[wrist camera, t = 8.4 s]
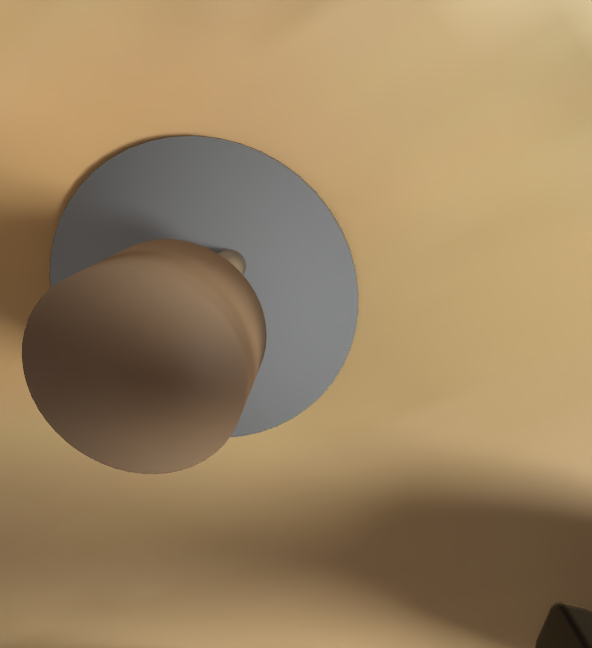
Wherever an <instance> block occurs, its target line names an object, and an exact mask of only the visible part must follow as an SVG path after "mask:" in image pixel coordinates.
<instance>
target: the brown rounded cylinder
mask: <svg viewBox="0 0 592 648" xmlns="http://www.w3.org/2000/svg"><path fill="white" fill-rule="evenodd" d="M245 270H246V262H245V259H244V257H243V256H242V255H241V254H240V253H239V252H237V251H235V250H232V249H226V250H223V251H221V252H220V253H218V254H217V253H215V252H214V251H212V250H210V249H208V248H206V247H203V246H200V245H198V244H195V243H191V242H187V241H183V240H175V239H156V240H150V241H145V242H141V243H138V244H135V245H133V246H131V247H129V248H126V249H124V250H122V251H120V252H118V253H116V254H114V255H112V256H110V257H108V258H106V259H104V260H102V261H100V262H98V263H96V264H94V265H92V266H90V267H88V268H86V269H84V270H82V271H80V272H77V273H75V274H73V275H71V276H69V277H67V278H65V279H63V280H62V281H61V282H59V283H58V284H56V285H55V286H53V287H52V288H51V289H50V290H49V291H48V292H47V293H46V294H45V295H44V296H43V297H42V298H41V299H40V301H39V302H38V303H37V305H36V306H35V308H34V310H33V311H32V313H31V315H30V317H29V319H28V322H27V325H26V328H25V331H24V337H23V343H22V361H23V370H24V374H25V378H26V382H27V385H28V388H29V391H30V393H31V396H32V398H33V400H34V402H35V404H36V405H37V407H38V409H39V411H40V412H41V414H42V415H43V416H44V418H45V419H46V421H47V422H48V423H49V424H50V425H51V427H52V428H53V429H54V430H55V431H56V432H57V433H58V434H59V435H60V436H61V437H62V438H63V439H64V440H65V441H66V442H68V443H69V444H70V445H71V446H73V447H74V448H75V449H77V450H78V451H80V452H81V453H83V454H85V455H86V456H88V457H90V458H92V459H94V460H96V461H98V462H100V463H102V464H104V465H107V466H110V467H113V468H116V469H120V470H123V471H127V472H134V473H141V474H162V473H171V472H175V471H180V470H183V469H186V468H189V467H192V466H194V465H196V464H198V463H200V462H202V461H204V460H206V459H207V458H209V457H210V456H212V455H213V454H214V453H216V452H217V451H218V450H219V449H220V448H221V447H222V446H223V445H224V444H225V443H226V441H227V440H228V439H229V437H230V436H231V435H232V433H233V431H234V430H235V428H236V426H237V424H238V422H239V419H240V417H241V414H242V412H243V409H244V406H245V404H246V401H247V399H248V396H249V394H250V391H251V389H252V386H253V383H254V381H255V378H256V376H257V373H258V371H259V368H260V366H261V363H262V360H263V358H264V353H265V349H266V338H267V333H266V322H265V317H264V313H263V310H262V307H261V304H260V301H259V299H258V297H257V295H256V293H255V291H254V290H253V288H252V287H251V285H250V284H249V282H248V281H247V279H246V278H245V277H244V276H243V275H244V273H245Z"/></svg>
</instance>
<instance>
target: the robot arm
mask: <svg viewBox="0 0 592 648" xmlns="http://www.w3.org/2000/svg"><path fill="white" fill-rule="evenodd" d="M535 648H592V612H591V611H590V610H589V609H588V608H586V607H583V606H579V605H574V604H569V603H564V602H556V603H555V604H554V605H552V607H551V609H550V611H549V613H548V616H547V618H546V620H545V622H544V625H543V627H542V629H541V632H540V634H539V636H538V638H537V641H536V646H535Z"/></svg>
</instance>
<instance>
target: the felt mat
mask: <svg viewBox="0 0 592 648" xmlns="http://www.w3.org/2000/svg"><path fill="white" fill-rule="evenodd" d="M156 239H175V240H183V241H187V242H191V243H195V244H198V245H200V246H203V247H206V248H208V249H210V250H212V251H214V252H215V253H217V254H218V253H220V252H221V251H223V250H226V249H232V250H235V251H237V252H239V253H240V254H241V255H242V256H243V257H244V259H245V262H246V270H245V273H244V275H243V276H244V277H245V278H246V279H247V281H248V282H249V284H250V285H251V287H252V288H253V290H254V291H255V293H256V295H257V297H258V299H259V301H260V304H261V307H262V310H263V313H264V317H265V322H266V333H267V338H266V349H265V353H264V358H263V360H262V363H261V366H260V368H259V371H258V373H257V376H256V378H255V381H254V383H253V386H252V389H251V391H250V394H249V396H248V399H247V401H246V404H245V406H244V409H243V412H242V414H241V417H240V419H239V422H238V424H237V426H236V428H235V430H234V431H233V433H232V435H231V436H230V437H237V436H245V435H249V434H254V433H259V432H262V431H265V430H268V429H270V428H273V427H276V426H278V425H280V424H282V423H284V422H286V421H288V420H290V419H292V418H294V417H295V416H297V415H298V414H300V413H301V412H303V411H304V410H306V409H307V408H308V407H309V406H310V405H312V404H313V403H314V402H315V401H316V400H317V399H318V398H319V397H320V396H321V395H322V394H323V393H324V392H325V391H326V389H327V388H328V387H329V386H330V385H331V384H332V382H333V381H334V379H335V378H336V376H337V374H338V373H339V371H340V370H341V368H342V366H343V364H344V362H345V360H346V357H347V355H348V353H349V351H350V348H351V344H352V341H353V337H354V334H355V330H356V323H357V315H358V286H357V279H356V271H355V266H354V263H353V259H352V255H351V252H350V248H349V246H348V244H347V241H346V239H345V237H344V234H343V232H342V230H341V228H340V226H339V224H338V223H337V221H336V219H335V217H334V216H333V214H332V212H331V211H330V209H329V208H328V207H327V205H326V204H325V203H324V202H323V200H322V199H321V198H320V197H319V195H318V194H317V193H316V192H315V191H314V190H313V189H312V188H311V187H310V186H309V185H308V184H307V183H306V182H305V181H304V180H303V179H302V178H301V177H300V176H299V175H297V174H296V173H295V172H293V171H292V170H291V169H289V168H288V167H286V166H285V165H284V164H282V163H281V162H279V161H277V160H276V159H274V158H272V157H270V156H268V155H267V154H265V153H263V152H261V151H258V150H256V149H253V148H251V147H248V146H246V145H243V144H241V143H236V142H232V141H228V140H224V139H220V138H211V137H201V136H182V137H168V138H163V139H158V140H153V141H149V142H146V143H143V144H140V145H137V146H134V147H132V148H129V149H127V150H125V151H123V152H122V153H120V154H118V155H116V156H114V157H112V158H111V159H109V160H108V161H107V162H105V163H104V164H103V165H101V166H100V167H99V168H97V169H96V170H95V171H94V172H93V173H92V174H91V175H90V176H89V177H88V178H87V179H86V180H85V181H84V182H83V183H82V184H81V185H80V187H79V188H78V189H77V191H76V192H75V194H74V195H73V196H72V198H71V199H70V201H69V202H68V204H67V206H66V208H65V210H64V212H63V214H62V216H61V218H60V221H59V224H58V227H57V230H56V233H55V236H54V240H53V246H52V251H51V259H50V284H51V288H52V287H53V286H55V285H56V284H58V283H59V282H61V281H62V280H63V279H65V278H67V277H69V276H71V275H73V274H75V273H77V272H80V271H82V270H84V269H86V268H88V267H90V266H92V265H94V264H96V263H98V262H100V261H102V260H104V259H106V258H108V257H110V256H112V255H114V254H116V253H118V252H120V251H122V250H124V249H126V248H129V247H131V246H133V245H135V244H138V243H141V242H145V241H150V240H156Z"/></svg>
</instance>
